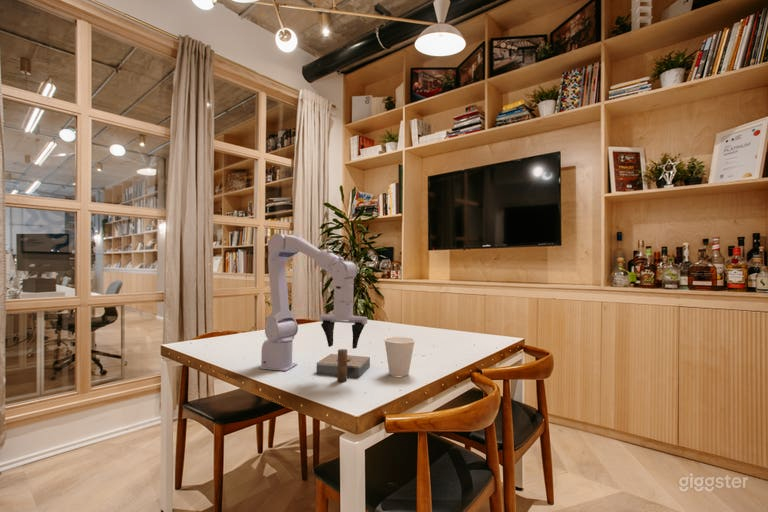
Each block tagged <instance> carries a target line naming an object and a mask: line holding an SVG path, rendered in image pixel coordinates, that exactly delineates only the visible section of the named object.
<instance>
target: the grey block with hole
mask: <svg viewBox="0 0 768 512" xmlns="http://www.w3.org/2000/svg"><path fill="white" fill-rule="evenodd" d="M370 368H371V357H370V356H362V355H348V354H347V378H358V379H359V378H360V377H361V376H362V375H364V373H366V371H368V370H369V369H370ZM337 372H338V353H334V354H333V353H330V354H328V355H326V357H324V358H322V359H321V360H319V361H317V362H316V374H317V375H328V376H334V377H335V376H336V377H337Z"/></svg>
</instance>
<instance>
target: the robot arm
mask: <svg viewBox="0 0 768 512" xmlns="http://www.w3.org/2000/svg"><path fill="white" fill-rule="evenodd" d="M267 251H268V257H267V267H268V277H269V278H268V279H269V289H270V300H271V301H270V302H271V312H270V314H269V315H268V316H267V317H266V318H265V327H264V335H265V337H266V338H267V339H265V340H264V341H263V343H262V346H261V356H260V357H261V358H260V359H261V361H260V367H259V369H262V370H270V371H280V372H287V371H288V370H290V369H292V368H294V367H296V366H297V365H298V363H297V362H293V346H294V345H293V340H295V336H296V335H297V334H298V331H299V325H298V323H297V320H296V315H295V314H294V312H292V310H290V305H289V294H288V293H289V292H288V282H287V281H288V280H287V272H286V271H287V269H286V268H287V267H286V263H287V262H288V261H289V260H290V259H291V258H293V257H294V256H296V255H297V254H298V253H301V254H304V255H306V256H308V258H309V257H310V258H311V259H313V260H315V261H314V262H315V264H316V266H318V267H319V268H320V269H322V270H324V271H325V272H327V273H329V274H330V276H331V278H332V282H333V286H334V287H333V289H334V291H333V314H324V313H323V314H322V313H321V314H319V319H318V321H319V322H321V324H320V326H321V328H322V329H323V333H324V334H325V337H326V342H327V346H328V347H329V348H330V347H333V345H334V329H335V323H341V324H342V323H346V324H347V323H348V324H352V325H351V330H352V332H351V333H352V345H351V347H352V349H355V350H356V349H357V348H358V343H359V339H360V336H361V334H362V332H363V330H364V328H365V325H367V324H368V316H363V315H362V316H361V315H354V284H355V283H354V282H355V278H356V277H357V275H358V272H359V270H358V266H357V265H356V263H354V261H352V260H345V258H344V257H342V256H339V255H337V254H335V253H333V252H334V251H333V250H332V249H329V248H328V249H321V250H320V249H319V248H318V247H316V246H315V245H313V244H312V243H310V242H309V241H307V240H306V239H305V238H304V237H302V236H300V235H298V234H286V233H279V232H275V233H273V234H272V235H271V236H270V238H269V239H268V240H267Z"/></svg>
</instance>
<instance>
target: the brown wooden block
mask: <svg viewBox="0 0 768 512" xmlns="http://www.w3.org/2000/svg"><path fill="white" fill-rule="evenodd" d="M337 354H338V372H337V376H336V377H337V379H336V381H337V382H339V383H346V382H347V381H348V377H347V355H348V349H346V348H345V349H344V348H342V349H341V348H339V349H337Z"/></svg>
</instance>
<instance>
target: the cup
mask: <svg viewBox="0 0 768 512" xmlns="http://www.w3.org/2000/svg"><path fill="white" fill-rule="evenodd" d="M383 341H384V345H385V352H386V359H387V360H386V361H387V365H388V366H387V367H388V373H389V375H390V376H392V377H394V376H405V377H407V376H408V375H409V373H410V368H411V367H410V366H411V362H412V356H413V352H414V346H415V342H416V339H414V338H412V337H409V336H388V337H385V338H384V339H383ZM406 375H407V376H406Z"/></svg>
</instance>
